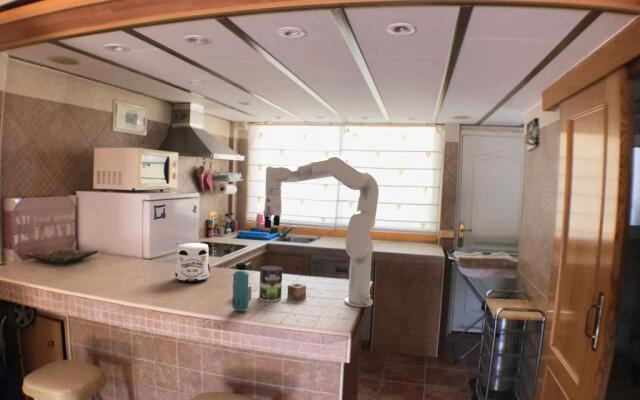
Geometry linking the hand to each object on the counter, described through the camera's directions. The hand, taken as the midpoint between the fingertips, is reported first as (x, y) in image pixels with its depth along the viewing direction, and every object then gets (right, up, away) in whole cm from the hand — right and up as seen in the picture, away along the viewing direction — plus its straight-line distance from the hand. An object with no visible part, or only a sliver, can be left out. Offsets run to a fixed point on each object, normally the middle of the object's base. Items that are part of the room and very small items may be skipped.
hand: (272, 226), depth 189 cm
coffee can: (+1, -32, -11) cm, 34 cm away
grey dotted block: (-11, -32, -12) cm, 36 cm away
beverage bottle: (-10, -33, -29) cm, 45 cm away
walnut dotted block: (+13, -33, -10) cm, 36 cm away
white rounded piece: (-43, -29, +13) cm, 54 cm away
